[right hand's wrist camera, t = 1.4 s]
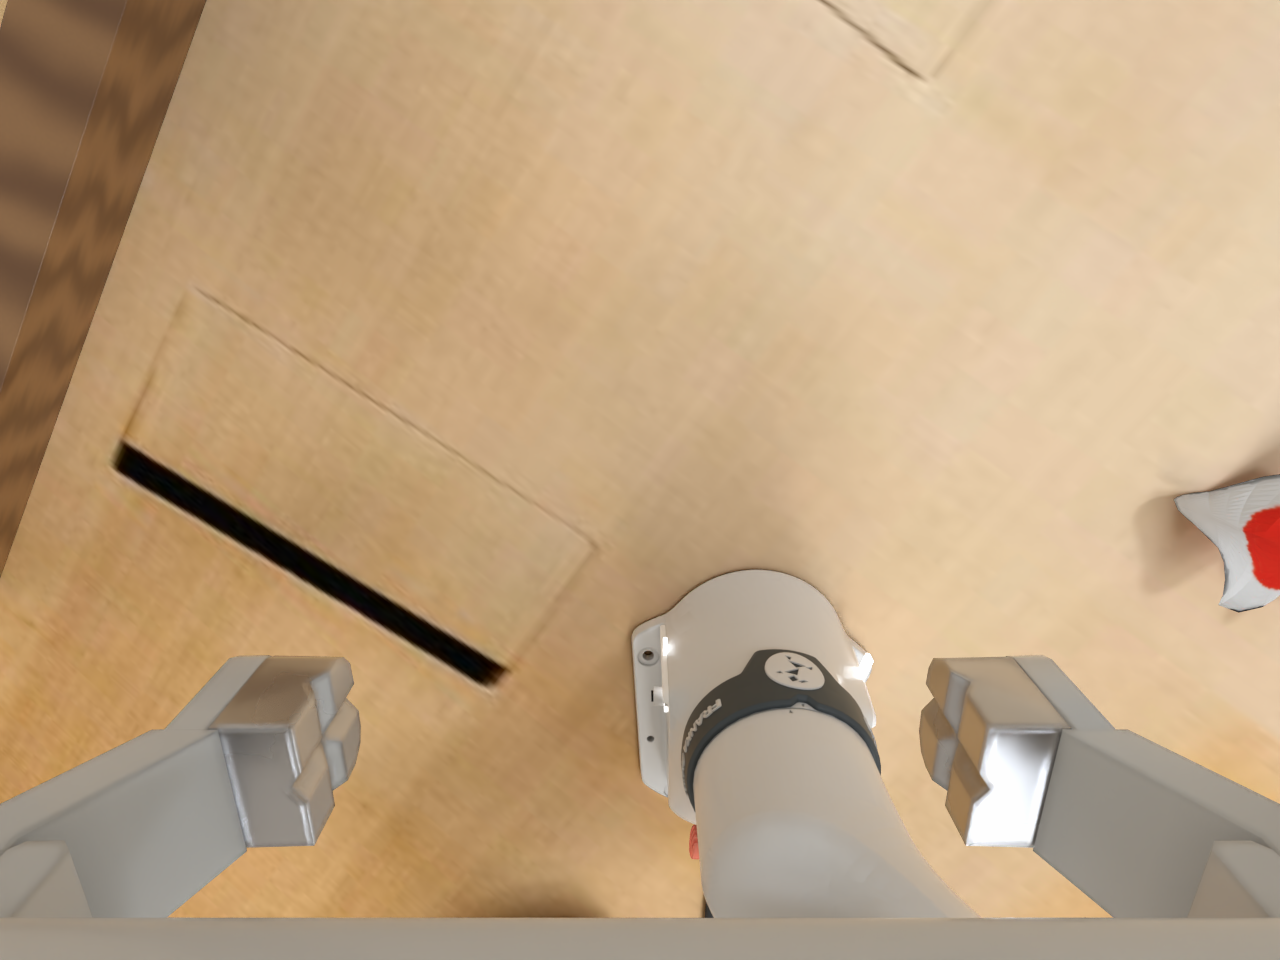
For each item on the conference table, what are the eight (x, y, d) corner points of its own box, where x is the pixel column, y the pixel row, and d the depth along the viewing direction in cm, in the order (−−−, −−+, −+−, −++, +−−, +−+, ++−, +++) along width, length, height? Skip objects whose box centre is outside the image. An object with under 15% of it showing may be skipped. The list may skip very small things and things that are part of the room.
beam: (-3, 586, 56) (-78, 631, 50) (-73, 553, 55) (-157, 595, 49) (440, -654, 33) (398, -835, 28) (335, -745, 33) (268, -952, 27)
